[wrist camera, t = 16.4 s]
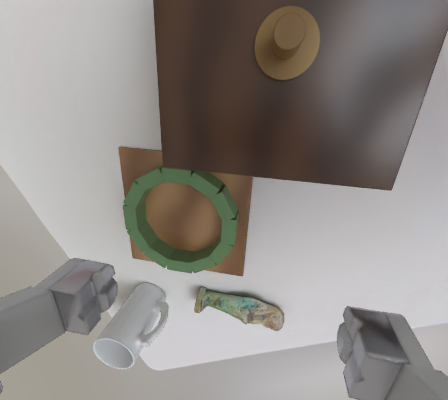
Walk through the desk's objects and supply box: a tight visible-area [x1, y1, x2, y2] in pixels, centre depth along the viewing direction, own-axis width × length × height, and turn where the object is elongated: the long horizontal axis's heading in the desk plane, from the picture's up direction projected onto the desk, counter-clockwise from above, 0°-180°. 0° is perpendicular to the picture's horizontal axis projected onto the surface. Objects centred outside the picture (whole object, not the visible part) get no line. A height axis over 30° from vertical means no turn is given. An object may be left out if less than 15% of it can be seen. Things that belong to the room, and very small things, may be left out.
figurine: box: [194, 287, 284, 331], centre depth 42 cm, size 6×15×4 cm, turn 75°
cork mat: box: [119, 147, 253, 276], centre depth 38 cm, size 20×20×1 cm
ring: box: [123, 165, 239, 273], centre depth 37 cm, size 17×17×3 cm
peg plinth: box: [153, 0, 448, 190], centre depth 20 cm, size 18×18×18 cm
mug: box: [93, 283, 168, 369], centre depth 41 cm, size 10×7×12 cm, turn 109°
